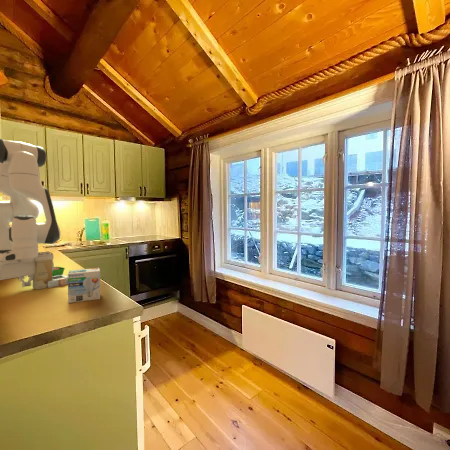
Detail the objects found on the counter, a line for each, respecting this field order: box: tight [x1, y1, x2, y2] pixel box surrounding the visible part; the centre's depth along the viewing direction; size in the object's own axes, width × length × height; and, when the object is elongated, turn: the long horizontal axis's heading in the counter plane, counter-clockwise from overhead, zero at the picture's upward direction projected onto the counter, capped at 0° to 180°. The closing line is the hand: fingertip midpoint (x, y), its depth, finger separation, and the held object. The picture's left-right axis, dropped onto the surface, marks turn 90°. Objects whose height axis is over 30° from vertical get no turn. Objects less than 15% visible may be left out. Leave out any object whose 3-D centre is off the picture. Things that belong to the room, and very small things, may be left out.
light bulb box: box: [67, 267, 101, 304], centre depth 97 cm, size 11×7×11 cm, turn 117°
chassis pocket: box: [46, 274, 68, 289], centre depth 120 cm, size 18×13×3 cm
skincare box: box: [31, 259, 52, 290], centre depth 113 cm, size 6×4×12 cm
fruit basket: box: [52, 266, 66, 276], centre depth 127 cm, size 11×9×11 cm
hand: (26, 286), depth 109 cm, fingers closed
